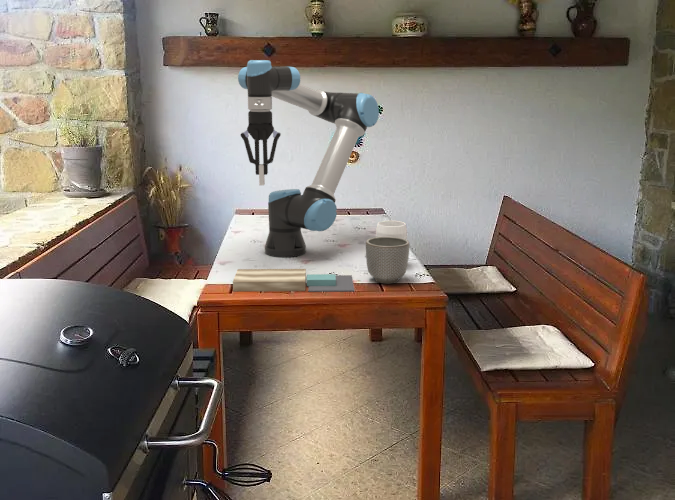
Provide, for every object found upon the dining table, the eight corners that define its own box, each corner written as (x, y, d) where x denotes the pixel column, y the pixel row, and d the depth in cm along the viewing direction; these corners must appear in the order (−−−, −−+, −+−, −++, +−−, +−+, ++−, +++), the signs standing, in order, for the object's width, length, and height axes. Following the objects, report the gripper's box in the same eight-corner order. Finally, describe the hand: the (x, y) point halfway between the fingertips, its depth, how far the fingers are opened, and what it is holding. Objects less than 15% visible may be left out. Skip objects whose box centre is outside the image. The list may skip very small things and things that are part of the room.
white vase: (404, 271, 240) (406, 227, 236) (373, 269, 242) (374, 226, 238) (407, 262, 250) (408, 220, 246) (377, 261, 252) (377, 219, 248)
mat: (308, 276, 234) (308, 275, 233) (351, 276, 234) (351, 275, 234) (308, 291, 218) (308, 290, 218) (354, 291, 218) (354, 290, 218)
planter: (373, 272, 238) (374, 234, 235) (413, 277, 233) (415, 238, 230) (358, 284, 226) (359, 244, 223) (401, 289, 221) (402, 248, 217)
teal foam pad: (306, 286, 222) (306, 279, 222) (307, 280, 228) (307, 274, 228) (335, 285, 223) (335, 279, 222) (335, 280, 228) (335, 274, 228)
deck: (237, 278, 232) (237, 269, 231) (305, 277, 233) (305, 268, 232) (233, 291, 218) (232, 281, 218) (305, 290, 219) (305, 281, 218)
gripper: (238, 111, 222) (240, 186, 228) (280, 111, 222) (281, 186, 228) (240, 109, 229) (242, 182, 235) (281, 109, 229) (282, 182, 235)
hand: (262, 184), depth 232 cm, fingers closed
